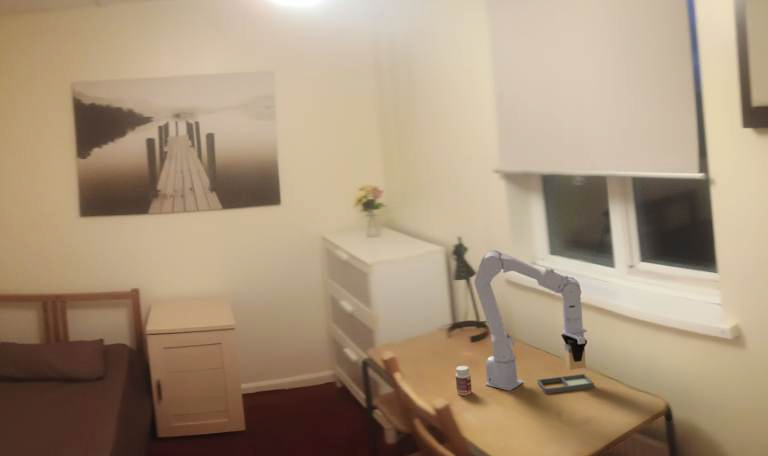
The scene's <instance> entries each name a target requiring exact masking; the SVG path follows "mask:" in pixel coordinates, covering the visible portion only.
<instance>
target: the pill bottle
mask: <svg viewBox="0 0 768 456" xmlns="http://www.w3.org/2000/svg"><path fill="white" fill-rule="evenodd" d="M471 378H472V377H471V373H470V368H469V367H468V366H467V365H459V366H457V367H456V368H455V382H456V383H455V384H456V392H457V394H458V395H459V394H460V396H468V394H469V395H471V393H472V391H473V390H472V379H471Z"/></svg>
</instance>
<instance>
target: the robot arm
mask: <svg viewBox="0 0 768 456" xmlns="http://www.w3.org/2000/svg"><path fill="white" fill-rule="evenodd" d="M501 271H502V273H503V274H505V273H508V272H509V273H510V272H515V273H518V274H521V275H523V276H525V277H528V278H531V279H534V280H536V282H537V285H538V286H540V287H543V288H544V289H547V290H550V291H551V292H554V293H556V294H561V297H562V303H561V305H562V319H563V324H562V330H563V333H562V334H561V338H562V339H563V341H564V344H569V345H570V347H571V350H572V354H573V359H574V361H575V362H578V361H581V360H582V355H583V350H584V348H585V347H586V345H587V344H588V340H587V339H586V337H585V333H588V330H587V329H586V328H584V325H583V311H582V302H581V301H582V299H581V297H582V296H581V295H582V290H581V285H580V283H579V281H578V280H577V279H576V278H574V277H572V276H568V275H562V274H560V273H559V272H555V269H553V268H549V269H548V268H544V269H539V268H537V267H535V266H532V265H531V264H528V263H526V262H524V261H522V260H520V259H517V258H516V257H515V256H514V257H513V256H511V255H509V254H507V253H505V252H500V251H498V250H496V249H492V250H489V251H488V252H486V253H485V255H484V256H483V258H481V260H480V263H479V265H478V268H477V272H476V275H475V278H474V280H473V281H474V282H473V284H474V287H475V289H476V294H477V295H478V299H479V302H480V305H481V307H482V310H483V314H484V317H485V320H486V324H487V325H488V328H489V332H490V336H491V337H490V338H491V343H492V346H493V347H492V348H493V349H492V355H490V356H489V357H488V358H487V359H486V363H485V364H486V365H485V370H486V381H487V382H486V383H485V385H486V386H489V387H493V388H496V389H497V388H498V389H501V390H505V391H509V392H510V391H512V390H513V389H515V388H517V387H519V385H521V384H524V381H523V380H521V379H518V372H517V369H518V368H517V358H516V355H515V354H514V353H513V350H514V347H515V340H514V339H513V338H512V336H510V335H509V333H508V330H507V328H506V327H505V324H504V322H503V321H504V320H503V318H502V314H501V311H500V309H499V306H498V303H497V300H496V297H495V293H494V290H493V288H492V284H491V282H492V281H493V279H494V278H495V277H496V276H497V275H498V274H500V273H501Z"/></svg>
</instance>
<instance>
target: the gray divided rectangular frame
mask: <svg viewBox="0 0 768 456" xmlns="http://www.w3.org/2000/svg"><path fill="white" fill-rule="evenodd" d="M536 381H537V385H538V386H539V388H540V389H541V390H542V392H543V393H544V394H545V395H549V394H556V393H563V392H571V391H572V392H573V391H579V390H587V389H594V388H595V385H594V384H595V383H594V381H592V380H591V379H590V378H589V377H588V376H587V375H586V374H585V373H581V374H579V373H578V374H572V375H565V376H564V375H563V376H556V377H548V378H547V377H545V378H540V379H537V380H536ZM554 383H555V384H556V383H561V384H562V385H563V386H557V387H556V386H555V387H548V388H546V387H545V386H544V385H545V384H554Z"/></svg>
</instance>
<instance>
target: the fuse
mask: <svg viewBox="0 0 768 456" xmlns="http://www.w3.org/2000/svg"><path fill="white" fill-rule="evenodd" d="M564 358H565V365H566V367H567V368H568V369H569V370H570V371H571V370H578V369H580V370H581V369H585V368H586V366H587V364H586V351H585V348H584V350H583V355H582V360H581V361H578V362H575V361H574V359H573V354H572V350H571V347H570V345H569V344H565V343H564Z"/></svg>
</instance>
